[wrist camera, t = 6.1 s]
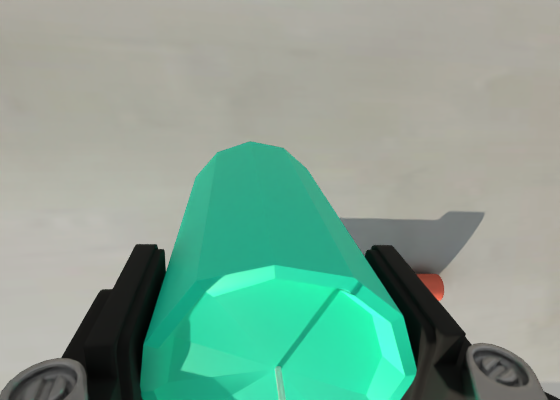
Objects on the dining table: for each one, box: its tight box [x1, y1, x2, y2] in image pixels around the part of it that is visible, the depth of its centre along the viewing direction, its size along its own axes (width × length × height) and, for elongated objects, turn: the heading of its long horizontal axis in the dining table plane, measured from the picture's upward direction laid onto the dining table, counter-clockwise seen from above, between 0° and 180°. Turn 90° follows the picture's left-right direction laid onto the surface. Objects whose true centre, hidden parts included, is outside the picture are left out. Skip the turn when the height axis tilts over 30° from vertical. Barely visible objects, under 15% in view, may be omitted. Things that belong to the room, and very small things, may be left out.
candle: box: [140, 141, 417, 400], centre depth 12 cm, size 6×6×12 cm
